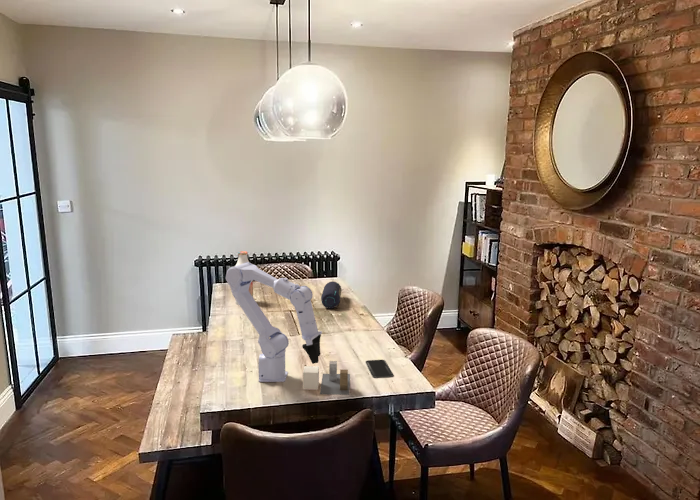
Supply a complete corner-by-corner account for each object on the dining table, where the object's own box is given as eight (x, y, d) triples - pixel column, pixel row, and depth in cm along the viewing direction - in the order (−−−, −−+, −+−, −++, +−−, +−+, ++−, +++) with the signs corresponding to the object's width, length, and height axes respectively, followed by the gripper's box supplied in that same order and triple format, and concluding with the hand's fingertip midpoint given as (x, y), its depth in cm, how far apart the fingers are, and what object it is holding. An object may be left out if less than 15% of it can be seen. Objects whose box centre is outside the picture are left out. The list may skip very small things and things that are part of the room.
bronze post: (339, 390, 172) (340, 372, 171) (340, 386, 175) (340, 369, 174) (347, 390, 172) (347, 372, 171) (347, 386, 175) (347, 369, 174)
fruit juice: (231, 303, 269) (229, 252, 264) (243, 299, 277) (242, 249, 272) (244, 306, 264) (243, 254, 259) (256, 302, 272) (255, 251, 267)
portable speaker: (339, 310, 260) (339, 292, 258) (320, 310, 260) (320, 291, 258) (341, 296, 285) (342, 279, 283) (324, 296, 285) (324, 279, 283)
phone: (373, 377, 182) (365, 360, 196) (373, 380, 182) (364, 363, 196) (394, 376, 183) (384, 359, 197) (394, 378, 183) (384, 362, 198)
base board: (319, 395, 169) (319, 394, 169) (322, 374, 185) (322, 373, 185) (349, 395, 169) (349, 394, 169) (349, 375, 185) (349, 374, 185)
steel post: (329, 380, 179) (329, 364, 178) (329, 377, 182) (329, 361, 180) (336, 380, 179) (336, 364, 178) (336, 377, 182) (337, 361, 180)
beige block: (302, 390, 173) (302, 372, 171) (304, 383, 178) (304, 366, 176) (317, 390, 173) (317, 372, 171) (318, 383, 178) (318, 366, 176)
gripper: (316, 324, 165) (326, 363, 166) (320, 314, 180) (328, 350, 181) (296, 328, 165) (305, 368, 167) (301, 318, 180) (309, 355, 181)
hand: (316, 359), depth 174 cm, fingers open, 7 cm apart
